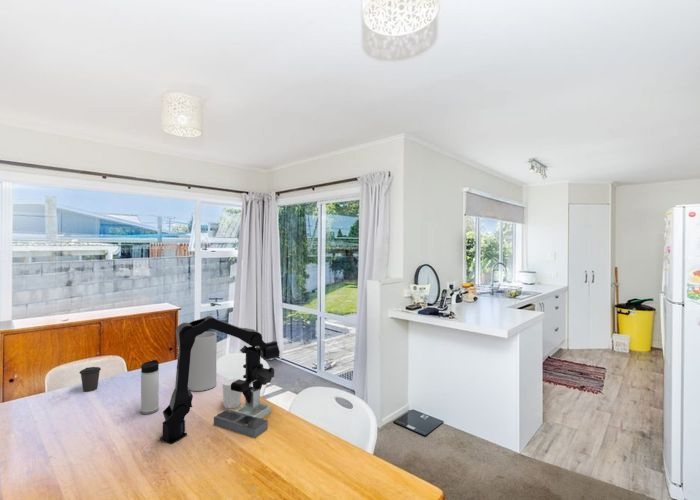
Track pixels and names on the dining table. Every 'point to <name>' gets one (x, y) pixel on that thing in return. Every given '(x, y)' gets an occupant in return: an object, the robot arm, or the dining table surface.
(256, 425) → the rail
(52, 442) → the dining table surface
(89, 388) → the coffee cup
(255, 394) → the brushed aluminium bar
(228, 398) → the white cup
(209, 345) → the cylinder vase
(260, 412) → the parts tray
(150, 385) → the travel mug
